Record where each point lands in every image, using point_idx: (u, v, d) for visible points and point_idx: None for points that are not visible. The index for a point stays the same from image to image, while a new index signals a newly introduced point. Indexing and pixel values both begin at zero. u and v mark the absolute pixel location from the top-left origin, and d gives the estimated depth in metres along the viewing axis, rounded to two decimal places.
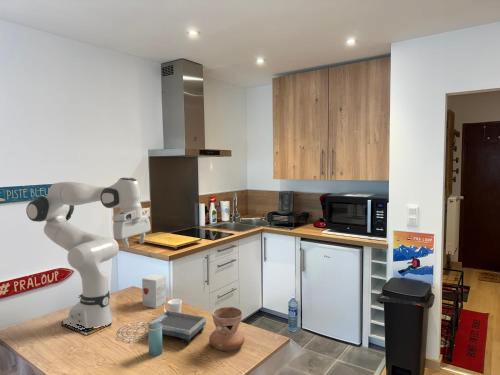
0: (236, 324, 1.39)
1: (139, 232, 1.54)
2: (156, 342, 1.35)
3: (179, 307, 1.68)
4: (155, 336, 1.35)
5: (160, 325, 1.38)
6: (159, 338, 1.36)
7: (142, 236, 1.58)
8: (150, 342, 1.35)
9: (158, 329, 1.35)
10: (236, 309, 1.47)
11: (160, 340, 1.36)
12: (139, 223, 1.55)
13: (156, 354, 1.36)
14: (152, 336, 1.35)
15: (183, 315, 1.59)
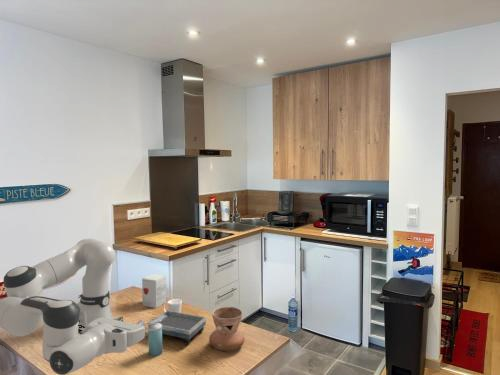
0: (236, 324, 1.39)
1: (117, 321, 1.20)
2: (156, 342, 1.35)
3: (179, 307, 1.68)
4: (155, 336, 1.35)
5: (160, 325, 1.38)
6: (159, 338, 1.36)
7: None
8: (150, 342, 1.35)
9: (158, 329, 1.35)
10: (236, 309, 1.47)
11: (160, 340, 1.36)
12: None
13: (156, 354, 1.36)
14: (152, 336, 1.35)
15: (183, 315, 1.59)
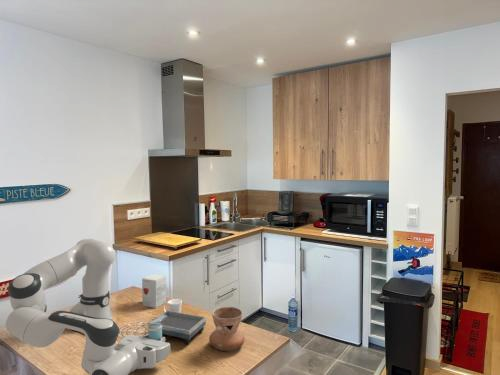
0: (236, 324, 1.39)
1: (144, 338, 1.34)
2: None
3: (179, 307, 1.68)
4: (155, 336, 1.35)
5: (160, 325, 1.38)
6: None
7: (143, 338, 1.37)
8: None
9: (158, 329, 1.35)
10: (236, 309, 1.47)
11: None
12: None
13: None
14: (152, 336, 1.35)
15: (183, 315, 1.59)
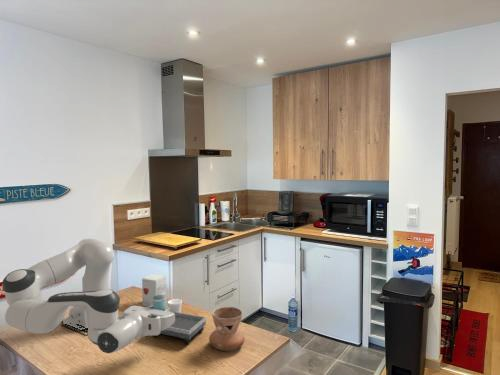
0: (236, 324, 1.39)
1: (149, 308, 1.35)
2: None
3: (179, 307, 1.68)
4: (160, 307, 1.36)
5: (164, 296, 1.39)
6: (163, 309, 1.37)
7: None
8: None
9: (162, 300, 1.37)
10: (236, 309, 1.47)
11: None
12: None
13: None
14: (157, 307, 1.36)
15: (183, 315, 1.59)
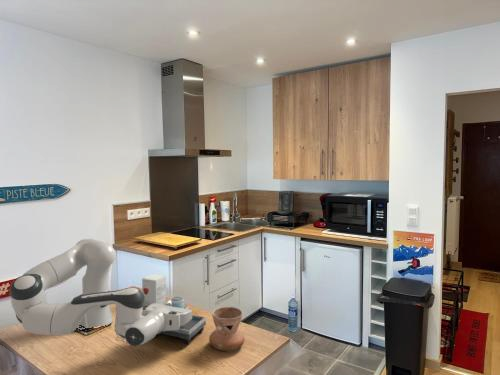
0: (236, 324, 1.39)
1: (168, 306, 1.48)
2: None
3: None
4: None
5: (182, 298, 1.52)
6: None
7: None
8: None
9: (180, 301, 1.50)
10: (236, 309, 1.47)
11: None
12: None
13: None
14: None
15: None
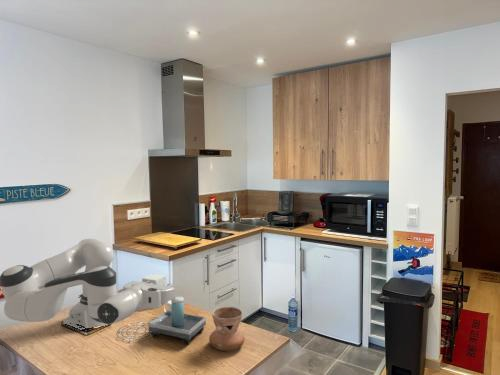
0: (236, 324, 1.39)
1: (149, 283, 1.35)
2: (179, 313, 1.50)
3: None
4: (178, 308, 1.49)
5: (182, 298, 1.52)
6: (181, 309, 1.50)
7: None
8: (173, 313, 1.50)
9: (180, 301, 1.50)
10: (236, 309, 1.47)
11: (182, 311, 1.51)
12: None
13: (179, 323, 1.50)
14: (175, 308, 1.49)
15: None
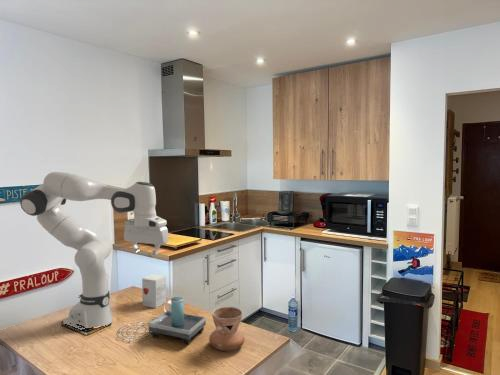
0: (236, 324, 1.39)
1: None
2: (179, 313, 1.50)
3: None
4: (178, 307, 1.50)
5: (182, 298, 1.52)
6: (181, 309, 1.50)
7: (135, 245, 1.48)
8: (173, 313, 1.50)
9: (180, 301, 1.50)
10: (236, 309, 1.47)
11: (182, 311, 1.51)
12: None
13: (179, 323, 1.50)
14: (175, 308, 1.49)
15: None
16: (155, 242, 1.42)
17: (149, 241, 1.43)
